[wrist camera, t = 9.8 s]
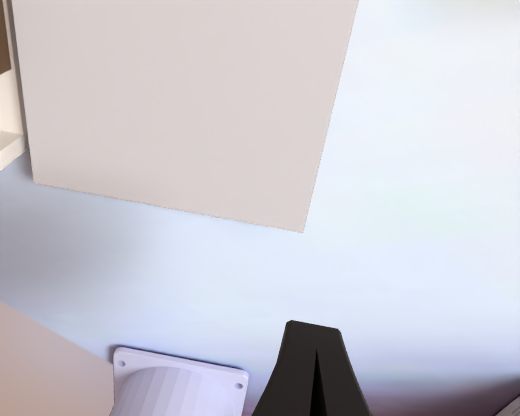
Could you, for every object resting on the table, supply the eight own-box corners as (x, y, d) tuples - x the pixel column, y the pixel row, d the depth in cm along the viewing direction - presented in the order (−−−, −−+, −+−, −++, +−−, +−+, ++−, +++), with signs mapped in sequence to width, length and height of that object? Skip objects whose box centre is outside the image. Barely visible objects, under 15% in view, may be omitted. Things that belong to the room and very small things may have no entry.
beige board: (304, 214, 22) (303, 233, 21) (50, 168, 22) (33, 183, 21) (393, -165, 15) (399, -172, 13) (11, -230, 15) (-18, -243, 14)
